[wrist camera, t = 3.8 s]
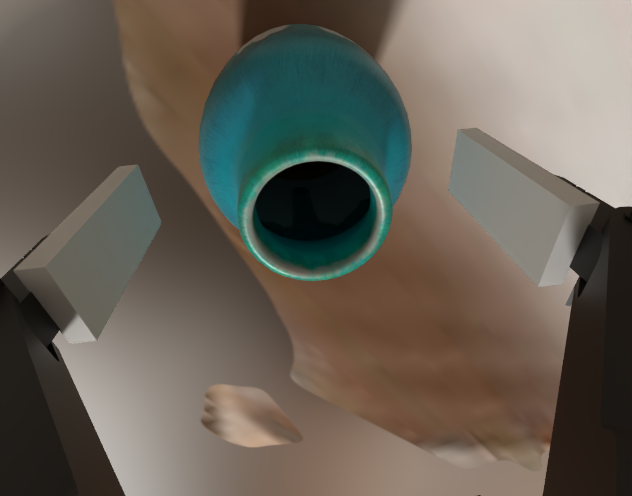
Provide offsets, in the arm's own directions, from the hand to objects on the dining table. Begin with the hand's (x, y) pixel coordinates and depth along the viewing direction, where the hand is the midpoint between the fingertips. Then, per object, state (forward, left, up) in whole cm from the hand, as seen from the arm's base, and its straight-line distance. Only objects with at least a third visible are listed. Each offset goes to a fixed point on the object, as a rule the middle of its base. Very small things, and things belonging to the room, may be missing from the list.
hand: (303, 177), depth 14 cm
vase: (0, 0, -16) cm, 16 cm away
